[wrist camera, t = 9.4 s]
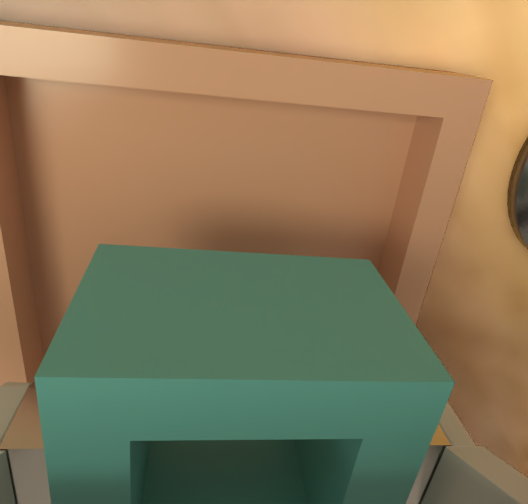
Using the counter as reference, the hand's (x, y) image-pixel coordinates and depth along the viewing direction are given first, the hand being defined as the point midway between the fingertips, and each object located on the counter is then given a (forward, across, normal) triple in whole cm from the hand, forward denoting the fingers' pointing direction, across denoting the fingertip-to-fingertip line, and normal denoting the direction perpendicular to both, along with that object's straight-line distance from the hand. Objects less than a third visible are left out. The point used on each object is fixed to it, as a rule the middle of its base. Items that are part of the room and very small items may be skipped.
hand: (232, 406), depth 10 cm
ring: (+2, 0, 0) cm, 2 cm away
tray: (+6, 0, 0) cm, 6 cm away
